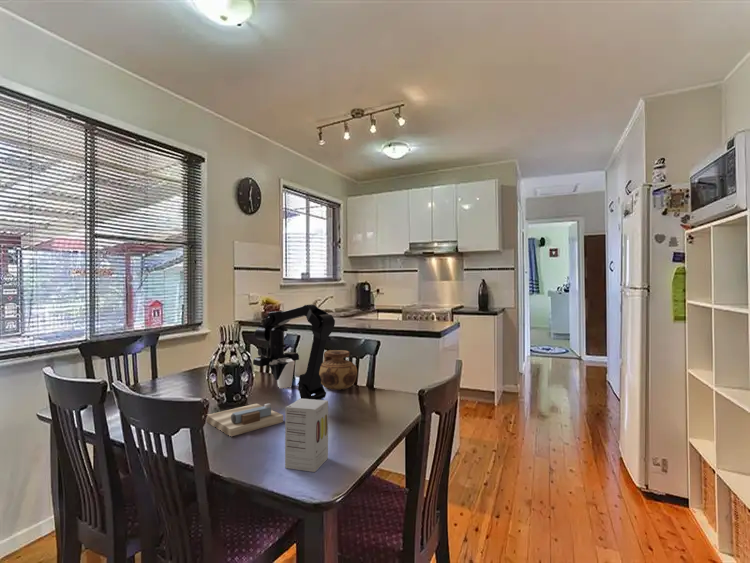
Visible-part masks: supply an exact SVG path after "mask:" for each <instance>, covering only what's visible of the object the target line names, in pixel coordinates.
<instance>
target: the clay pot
mask: <svg viewBox="0 0 750 563" xmlns="http://www.w3.org/2000/svg"><path fill="white" fill-rule="evenodd" d="M323 357H324V358H323V359H324V360H323V362H322V363H321V367H320V372H319V375H320V377H321V386H322V387H323V388H326V389H328V390H332V391H333V390H334V391H342V390H341V389H343V390H347V389H349V388H351V387H352V386H353V385H354V384H355V382H356V380H357V376H358V368H357V366H356V365H355V363H353V362H352V361H350V360H347V359H344V358H349V357H350V351H348V350H344V349H340V350H339V349H338V350H337V349H333V350H332V349H330V350H326V351H324V353H323Z"/></svg>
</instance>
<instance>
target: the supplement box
mask: <svg viewBox="0 0 750 563" xmlns="http://www.w3.org/2000/svg"><path fill="white" fill-rule="evenodd" d="M284 409H285V410H284V412H285V413H284V415H285V416H284V417H285V419H284V424H285V426H284V427H285V430H284V431H285V432H284V434H285V435H284V437H285V438H284V444H285V445H284V446H285V447H284V449H285V450H284V459H285V460H284V468H285V469H289V470H297V471H298V470H299V471H304V472H312V473H315V472H317V471H318V469H319V468H320V467H321V466H322V465H324V463H325V462H326V461H327V460H328V459H329V400H325V399H321V400H314V399H301V397H300V398H298V399H297V400H296V401H293V402H292V403H290V404H288V405H287V406H285V408H284Z"/></svg>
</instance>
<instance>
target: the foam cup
mask: <svg viewBox="0 0 750 563" xmlns="http://www.w3.org/2000/svg"><path fill="white" fill-rule="evenodd" d="M286 362H288V364H286V366H285V367H284V369H283V371H282V373H281V375H280V377H279V380H276V382H277V388H278V387H279V389H283V388H284V389H288V388H287V387H290V386H291V387H292V384H293V377H294V376H293V375H294V369H295V362H296V360H295V361H293V360H292V359H286ZM291 387H290V388H291Z"/></svg>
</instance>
